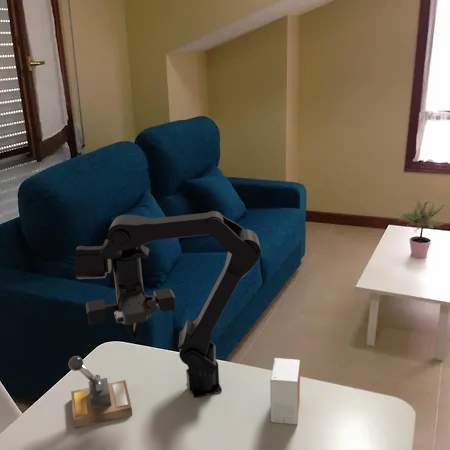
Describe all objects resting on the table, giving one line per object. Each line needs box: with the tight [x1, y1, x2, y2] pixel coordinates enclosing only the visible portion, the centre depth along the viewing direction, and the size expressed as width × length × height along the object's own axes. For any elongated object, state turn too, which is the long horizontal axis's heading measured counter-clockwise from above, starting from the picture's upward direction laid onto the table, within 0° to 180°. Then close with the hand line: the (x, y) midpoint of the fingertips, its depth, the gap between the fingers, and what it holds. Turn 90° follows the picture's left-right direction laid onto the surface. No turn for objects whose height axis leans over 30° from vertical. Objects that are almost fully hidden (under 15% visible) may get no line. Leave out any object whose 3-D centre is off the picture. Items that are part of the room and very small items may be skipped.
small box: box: [269, 357, 301, 425], centre depth 112 cm, size 8×6×10 cm
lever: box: [67, 355, 102, 393], centre depth 114 cm, size 3×5×9 cm
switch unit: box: [70, 377, 133, 429], centre depth 117 cm, size 12×10×5 cm
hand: (135, 340), depth 118 cm, fingers closed
